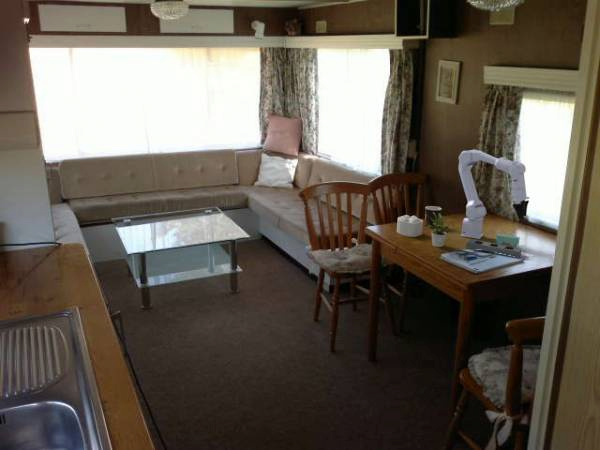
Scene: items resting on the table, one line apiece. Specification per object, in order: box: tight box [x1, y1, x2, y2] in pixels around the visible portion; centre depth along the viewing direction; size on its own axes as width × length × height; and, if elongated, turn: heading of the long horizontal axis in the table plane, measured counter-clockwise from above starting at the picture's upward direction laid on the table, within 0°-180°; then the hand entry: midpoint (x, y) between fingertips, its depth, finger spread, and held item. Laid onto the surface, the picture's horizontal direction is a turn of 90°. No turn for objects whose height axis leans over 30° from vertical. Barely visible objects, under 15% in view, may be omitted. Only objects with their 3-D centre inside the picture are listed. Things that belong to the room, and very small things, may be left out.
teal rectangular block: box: [495, 233, 521, 248], centre depth 265 cm, size 10×3×5 cm, turn 59°
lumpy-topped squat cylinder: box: [396, 214, 424, 238], centre depth 283 cm, size 10×13×9 cm
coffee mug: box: [424, 205, 442, 229], centre depth 295 cm, size 12×9×10 cm
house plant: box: [427, 212, 454, 248], centre depth 264 cm, size 14×14×16 cm
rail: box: [465, 238, 523, 259], centre depth 258 cm, size 24×6×3 cm, turn 59°
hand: (522, 217), depth 260 cm, fingers open, 7 cm apart
